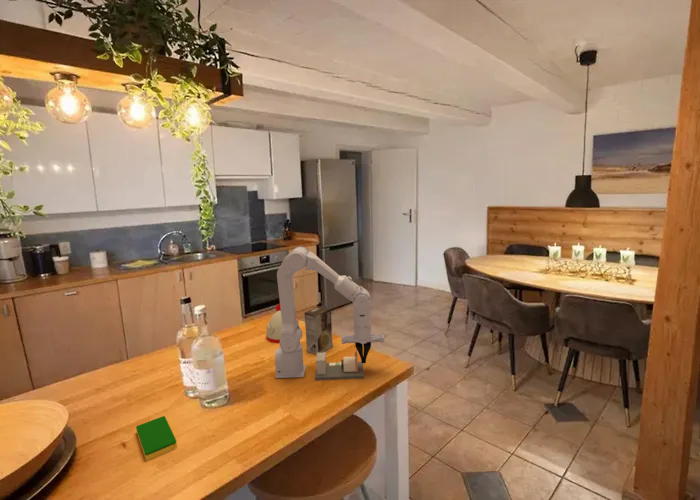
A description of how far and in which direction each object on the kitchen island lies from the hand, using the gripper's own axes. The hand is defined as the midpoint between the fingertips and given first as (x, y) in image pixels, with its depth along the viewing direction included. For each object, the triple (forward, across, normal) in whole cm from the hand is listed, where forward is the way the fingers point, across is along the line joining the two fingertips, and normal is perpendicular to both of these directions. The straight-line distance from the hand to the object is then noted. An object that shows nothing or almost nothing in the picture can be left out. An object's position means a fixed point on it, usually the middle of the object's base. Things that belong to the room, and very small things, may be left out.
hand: (363, 362), depth 129 cm
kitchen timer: (+4, -34, +33) cm, 47 cm away
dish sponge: (+4, -56, -32) cm, 65 cm away
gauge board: (+3, -8, 0) cm, 9 cm away
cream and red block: (+2, -5, +1) cm, 5 cm away
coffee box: (+4, -17, +19) cm, 25 cm away
